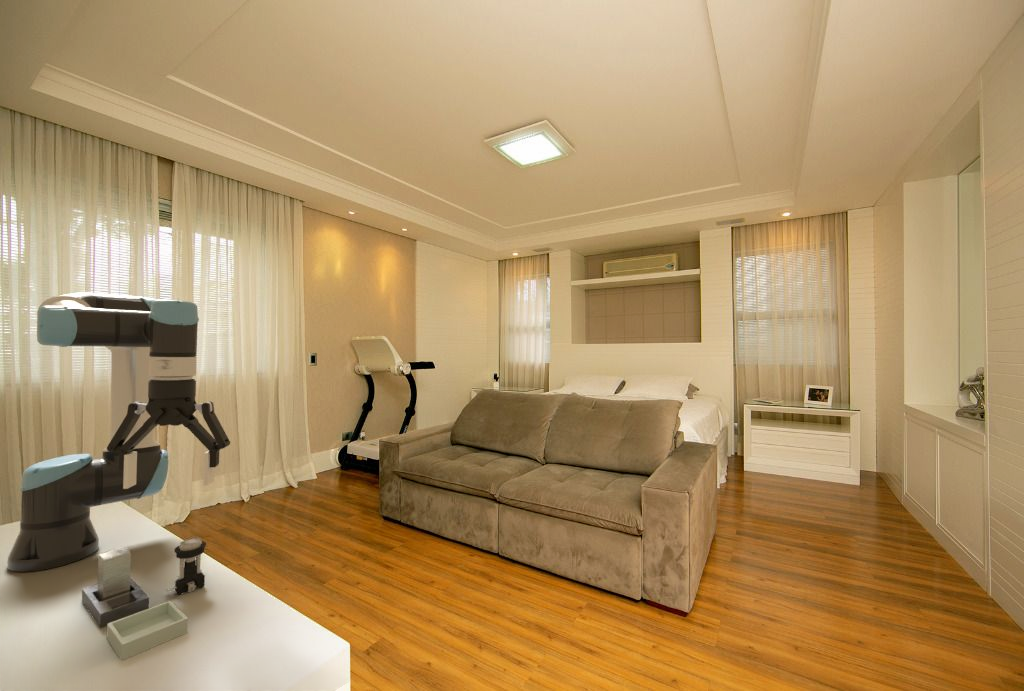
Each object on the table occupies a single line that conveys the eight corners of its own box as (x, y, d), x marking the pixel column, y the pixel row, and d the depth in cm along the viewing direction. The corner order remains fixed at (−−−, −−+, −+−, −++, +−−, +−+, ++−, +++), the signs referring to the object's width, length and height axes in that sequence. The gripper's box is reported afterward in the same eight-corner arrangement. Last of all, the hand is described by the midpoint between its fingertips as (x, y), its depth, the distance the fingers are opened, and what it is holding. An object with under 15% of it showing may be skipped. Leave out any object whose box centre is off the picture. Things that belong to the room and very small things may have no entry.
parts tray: (106, 638, 77) (107, 623, 77) (169, 613, 84) (170, 600, 84) (121, 660, 71) (122, 644, 71) (187, 632, 79) (187, 618, 79)
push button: (169, 602, 88) (170, 551, 88) (162, 592, 91) (163, 544, 91) (208, 588, 93) (209, 541, 93) (200, 580, 96) (201, 534, 96)
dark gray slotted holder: (81, 601, 88) (82, 588, 88) (127, 586, 93) (127, 574, 93) (100, 628, 79) (100, 613, 79) (148, 610, 85) (149, 596, 85)
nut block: (97, 605, 86) (98, 553, 86) (123, 596, 90) (125, 546, 90) (102, 612, 84) (103, 559, 84) (129, 603, 87) (130, 552, 87)
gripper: (84, 379, 81) (81, 494, 81) (235, 380, 87) (232, 487, 87) (111, 376, 89) (108, 482, 89) (249, 377, 94) (246, 476, 94)
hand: (169, 485), depth 88 cm, fingers open, 13 cm apart
